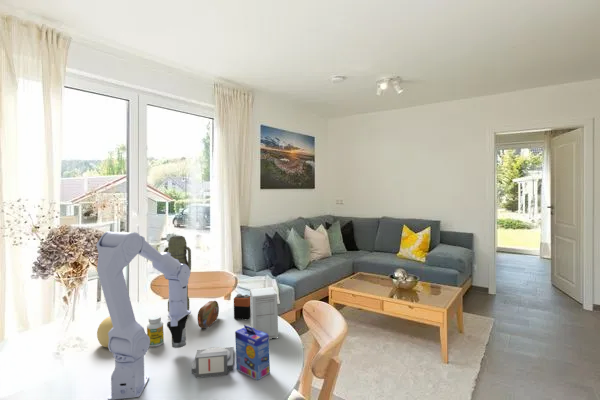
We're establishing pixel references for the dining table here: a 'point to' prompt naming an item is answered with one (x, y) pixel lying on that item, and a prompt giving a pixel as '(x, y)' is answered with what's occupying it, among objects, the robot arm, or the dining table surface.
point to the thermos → (179, 254)
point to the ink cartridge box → (252, 352)
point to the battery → (242, 307)
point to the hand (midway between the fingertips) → (178, 339)
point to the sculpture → (104, 331)
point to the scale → (213, 362)
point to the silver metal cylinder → (183, 340)
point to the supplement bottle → (155, 331)
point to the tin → (208, 314)
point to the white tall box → (264, 311)
